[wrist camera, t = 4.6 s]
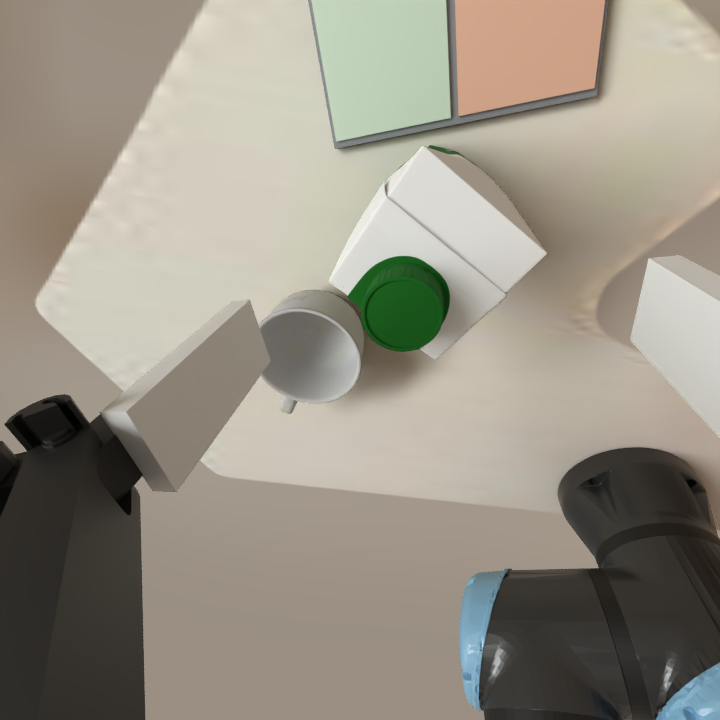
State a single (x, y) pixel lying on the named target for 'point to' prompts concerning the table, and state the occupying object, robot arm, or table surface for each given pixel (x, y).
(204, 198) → the table surface
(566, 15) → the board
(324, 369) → the teacup
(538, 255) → the soya milk
